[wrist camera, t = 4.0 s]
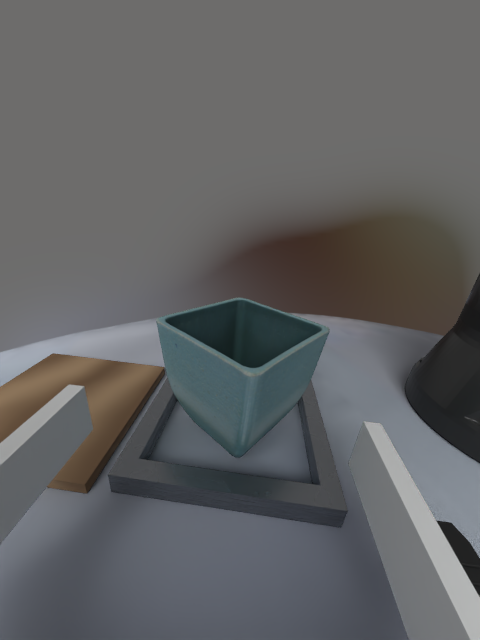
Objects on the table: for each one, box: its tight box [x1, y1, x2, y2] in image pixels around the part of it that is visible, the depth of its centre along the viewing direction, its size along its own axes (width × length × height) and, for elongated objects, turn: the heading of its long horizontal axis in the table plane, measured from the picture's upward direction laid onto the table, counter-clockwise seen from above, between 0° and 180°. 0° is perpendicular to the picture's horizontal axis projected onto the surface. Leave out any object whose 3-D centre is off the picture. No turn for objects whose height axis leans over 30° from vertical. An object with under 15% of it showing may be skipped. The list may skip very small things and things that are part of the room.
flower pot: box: [156, 298, 329, 458], centre depth 19 cm, size 9×9×9 cm
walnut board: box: [0, 354, 165, 493], centre depth 20 cm, size 12×12×1 cm
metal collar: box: [108, 378, 348, 527], centre depth 20 cm, size 13×13×2 cm
